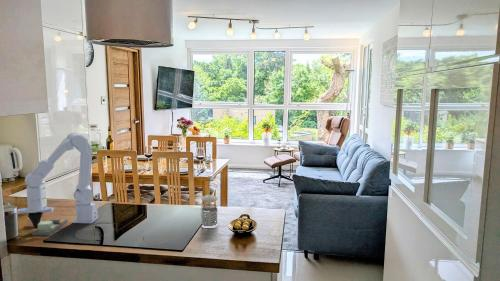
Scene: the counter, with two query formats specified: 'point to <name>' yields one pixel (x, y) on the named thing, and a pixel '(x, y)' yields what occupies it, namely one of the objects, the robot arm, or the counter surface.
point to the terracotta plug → (29, 223)
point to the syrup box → (43, 194)
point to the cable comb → (53, 228)
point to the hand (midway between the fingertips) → (36, 227)
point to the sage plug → (45, 225)
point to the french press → (209, 209)
